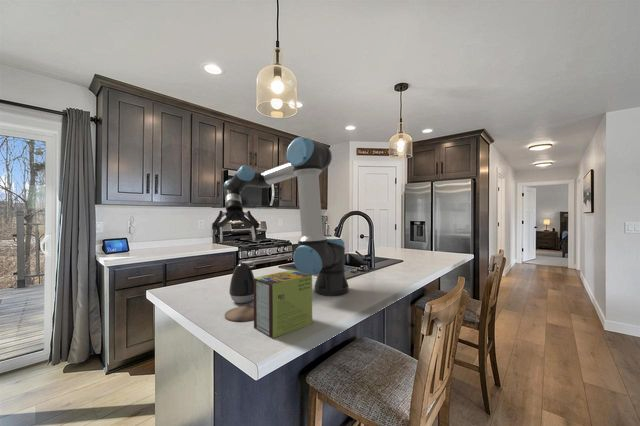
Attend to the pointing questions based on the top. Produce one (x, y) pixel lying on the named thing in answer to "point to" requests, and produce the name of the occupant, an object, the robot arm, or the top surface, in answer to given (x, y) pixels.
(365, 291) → the top surface
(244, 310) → the walnut trivet
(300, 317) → the protein box
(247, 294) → the pump dispenser
